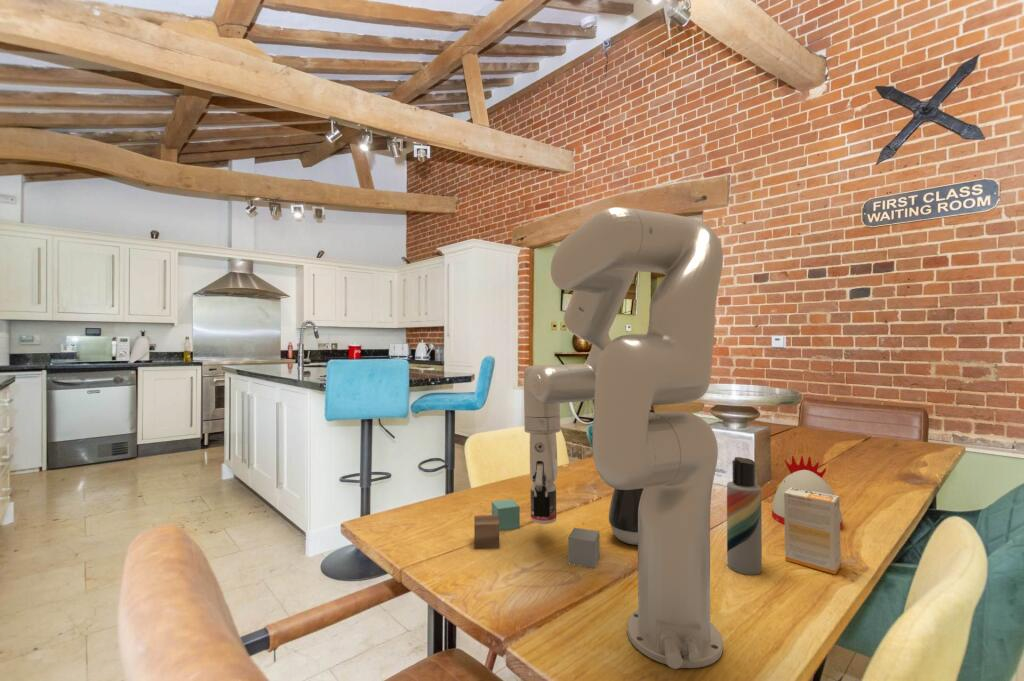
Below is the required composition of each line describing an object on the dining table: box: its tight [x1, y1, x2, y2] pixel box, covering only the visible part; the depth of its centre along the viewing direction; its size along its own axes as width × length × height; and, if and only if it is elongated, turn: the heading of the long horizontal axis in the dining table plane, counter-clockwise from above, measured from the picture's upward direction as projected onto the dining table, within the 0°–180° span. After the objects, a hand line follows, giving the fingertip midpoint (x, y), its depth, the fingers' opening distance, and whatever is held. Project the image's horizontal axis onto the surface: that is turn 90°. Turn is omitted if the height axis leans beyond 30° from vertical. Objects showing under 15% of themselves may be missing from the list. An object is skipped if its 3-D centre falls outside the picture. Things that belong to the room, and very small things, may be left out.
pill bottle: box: [529, 475, 557, 525], centre depth 99 cm, size 5×5×10 cm
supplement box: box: [784, 487, 842, 575], centre depth 88 cm, size 8×5×13 cm, turn 44°
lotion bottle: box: [726, 456, 763, 575], centre depth 87 cm, size 6×6×20 cm
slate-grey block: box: [567, 527, 601, 569], centre depth 90 cm, size 5×5×5 cm
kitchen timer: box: [771, 455, 844, 531], centre depth 110 cm, size 14×14×15 cm
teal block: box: [491, 498, 521, 532], centre depth 107 cm, size 5×5×5 cm
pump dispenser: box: [608, 488, 644, 546], centre depth 99 cm, size 10×10×15 cm
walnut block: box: [473, 514, 500, 550], centre depth 98 cm, size 5×5×5 cm
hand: (543, 510), depth 99 cm, fingers closed on pill bottle, 5 cm apart
